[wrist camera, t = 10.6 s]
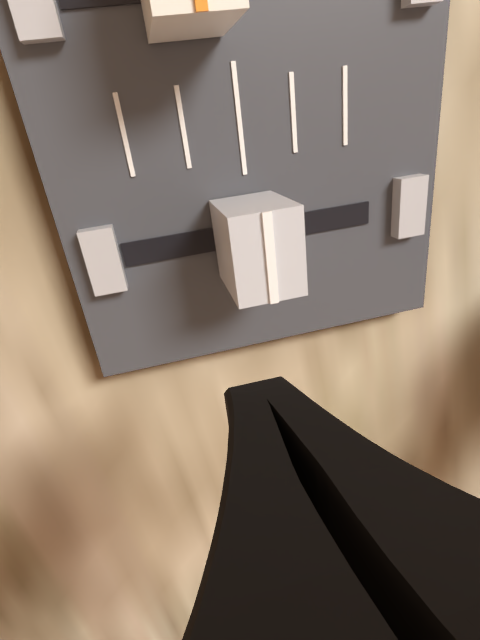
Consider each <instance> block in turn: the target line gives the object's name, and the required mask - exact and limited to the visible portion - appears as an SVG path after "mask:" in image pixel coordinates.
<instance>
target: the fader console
mask: <svg viewBox="0 0 480 640" xmlns="http://www.w3.org/2000/svg"><path fill="white" fill-rule="evenodd" d="M449 6H450V0H249V7H250V8H249V9H248V10H247V11H246V12H245V13H244V14H243V15H242V17H241V18H240V19H239V20H238V21H237V22H236V23H235V24H234V25H233V26H232V27H231V28H230V29H229V30H228V32H227V33H226V34H225V35H224V36H222V37H212V38H202V39H192V40H182V41H172V42H162V43H152V44H148V38H147V33H146V27H145V22H144V16H143V11H142V5H141V0H0V50H1V53H2V56H3V59H4V62H5V66H6V69H7V72H8V75H9V78H10V81H11V85H12V88H13V91H14V94H15V97H16V100H17V104H18V107H19V110H20V113H21V116H22V119H23V123H24V126H25V129H26V132H27V135H28V138H29V142H30V145H31V148H32V151H33V154H34V157H35V161H36V164H37V167H38V170H39V173H40V176H41V180H42V183H43V186H44V189H45V192H46V195H47V199H48V202H49V205H50V208H51V211H52V214H53V218H54V221H55V224H56V227H57V230H58V233H59V237H60V240H61V243H62V246H63V249H64V252H65V256H66V259H67V262H68V265H69V268H70V271H71V275H72V278H73V281H74V284H75V287H76V290H77V294H78V297H79V300H80V303H81V306H82V309H83V313H84V316H85V319H86V322H87V325H88V328H89V332H90V335H91V338H92V341H93V344H94V347H95V351H96V354H97V357H98V360H99V363H100V366H101V370H102V373H103V376H104V377H107V376H112V375H116V374H121V373H125V372H130V371H134V370H139V369H143V368H148V367H153V366H157V365H162V364H166V363H171V362H175V361H180V360H184V359H189V358H194V357H198V356H203V355H207V354H212V353H216V352H221V351H225V350H230V349H235V348H239V347H244V346H248V345H253V344H257V343H262V342H266V341H271V340H276V339H280V338H285V337H289V336H294V335H298V334H303V333H308V332H312V331H317V330H321V329H326V328H330V327H335V326H339V325H344V324H349V323H353V322H358V321H362V320H367V319H371V318H376V317H380V316H385V315H390V314H394V313H399V312H403V311H408V310H412V309H417V308H421V307H423V305H424V293H425V282H426V270H427V259H428V247H429V236H430V224H431V213H432V201H433V190H434V179H435V167H436V156H437V144H438V133H439V121H440V110H441V98H442V87H443V75H444V64H445V52H446V41H447V29H448V18H449ZM270 190H271V191H273V192H275V193H278V194H280V195H282V196H284V197H287V198H289V199H291V200H293V201H296V202H298V203H300V204H302V205H304V221H305V241H306V262H307V283H308V295H307V296H302V297H297V298H293V299H288V300H283V301H279V303H275V304H270V303H268V304H263V305H258V306H254V307H249V308H244V309H239V308H238V307H237V305H236V303H235V301H234V300H233V298H232V296H231V294H230V293H229V291H228V289H227V288H226V286H225V284H224V282H223V281H222V279H221V277H220V274H219V267H218V260H217V253H216V247H215V240H214V233H213V226H212V219H211V213H210V206H209V200H214V199H220V198H226V197H232V196H239V195H245V194H251V193H257V192H263V191H270Z"/></svg>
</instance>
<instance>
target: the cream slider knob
mask: <svg viewBox="0 0 480 640" xmlns="http://www.w3.org/2000/svg"><path fill="white" fill-rule="evenodd" d="M209 206H210V213H211V219H212V226H213V233H214V240H215V247H216V253H217V260H218V267H219V274H220V277H221V279H222V281H223V282H224V284H225V286H226V288H227V289H228V291H229V293H230V294H231V296H232V298H233V300H234V301H235V303H236V305H237V307H238V308H239V309H244V308H249V307H254V306H258V305H263V304H268V303H270V304H275V303H279V301H283V300H288V299H293V298H297V297H302V296H307V295H308V283H307V262H306V241H305V221H304V205H302V204H300V203H298V202H296V201H293V200H291V199H289V198H287V197H284V196H282V195H280V194H278V193H275V192H273V191H271V190H270V191H263V192H257V193H251V194H245V195H239V196H232V197H226V198H220V199H214V200H209Z"/></svg>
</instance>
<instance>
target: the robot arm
mask: <svg viewBox="0 0 480 640" xmlns="http://www.w3.org/2000/svg"><path fill="white" fill-rule="evenodd" d="M224 396H225V403H226V410H227V417H228V423H229V436H228V452H227V463H226V470H225V477H224V483H223V490H222V496H221V502H220V507H219V512H218V517H217V522H216V526H215V530H214V535H213V539H212V543H211V547H210V551H209V554H208V558H207V562H206V565H205V569H204V573H203V576H202V580H201V584H200V587H199V590H198V594H197V597H196V600H195V603H194V607H193V610H192V613H191V616H190V619H189V622H188V625H187V627H186V630H185V633H184V636H183V639H182V640H480V499H479V498H477V497H475V496H473V495H470V494H468V493H466V492H464V491H462V490H460V489H458V488H455V487H453V486H451V485H449V484H447V483H445V482H443V481H441V480H439V479H437V478H435V477H434V476H432V475H430V474H428V473H426V472H424V471H422V470H420V469H418V468H416V467H414V466H412V465H411V464H409V463H407V462H405V461H403V460H402V459H400V458H398V457H396V456H395V455H393V454H391V453H389V452H388V451H386V450H385V449H383V448H381V447H380V446H378V445H376V444H375V443H373V442H371V441H370V440H368V439H367V438H365V437H364V436H362V435H361V434H359V433H358V432H356V431H355V430H353V429H352V428H350V427H349V426H347V425H346V424H344V423H343V422H342V421H340V420H339V419H337V418H336V417H334V416H333V415H332V414H330V413H329V412H327V411H326V410H325V409H323V408H322V407H321V406H319V405H318V404H317V403H315V402H314V401H313V400H311V399H310V398H309V397H307V396H306V395H305V394H303V393H302V392H301V391H300V390H298V389H297V388H296V387H294V386H293V385H292V384H291V383H289V382H288V381H287V380H285V379H284V378H282V377H276V378H272V379H267V380H262V381H258V382H253V383H249V384H244V385H240V386H235V387H231V388H228V389H227V390H226V392H225V393H224Z"/></svg>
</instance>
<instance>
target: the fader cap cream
mask: <svg viewBox="0 0 480 640" xmlns="http://www.w3.org/2000/svg"><path fill="white" fill-rule="evenodd" d="M141 5H142V11H143V16H144V22H145V27H146V33H147V38H148V44H152V43H162V42H172V41H182V40H192V39H202V38H212V37H222V36H224V35H225V34H226V33H227V32H228V30H229V29H230V28H231V27H232V26H233V25H234V24H235V23H236V22H237V21H238V20H239V19H240V18H241V17H242V15H243V14H244V13H245V12H246V11H247V10H248V9H249V8H250V7H249V0H141Z"/></svg>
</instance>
